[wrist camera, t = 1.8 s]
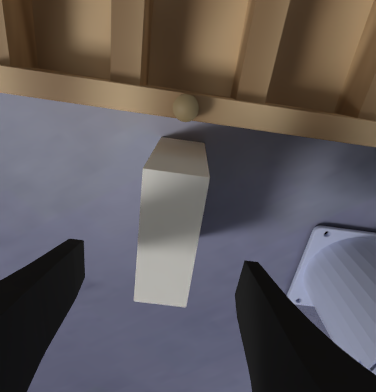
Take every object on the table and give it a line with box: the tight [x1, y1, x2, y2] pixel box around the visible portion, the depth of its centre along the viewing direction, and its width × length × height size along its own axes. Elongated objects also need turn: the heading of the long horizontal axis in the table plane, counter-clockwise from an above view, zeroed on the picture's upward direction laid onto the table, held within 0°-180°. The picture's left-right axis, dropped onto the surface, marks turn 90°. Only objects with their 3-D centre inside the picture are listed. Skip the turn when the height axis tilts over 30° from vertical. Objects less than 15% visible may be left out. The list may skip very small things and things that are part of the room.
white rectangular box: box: [134, 137, 210, 307], centre depth 16 cm, size 3×8×7 cm, turn 172°
